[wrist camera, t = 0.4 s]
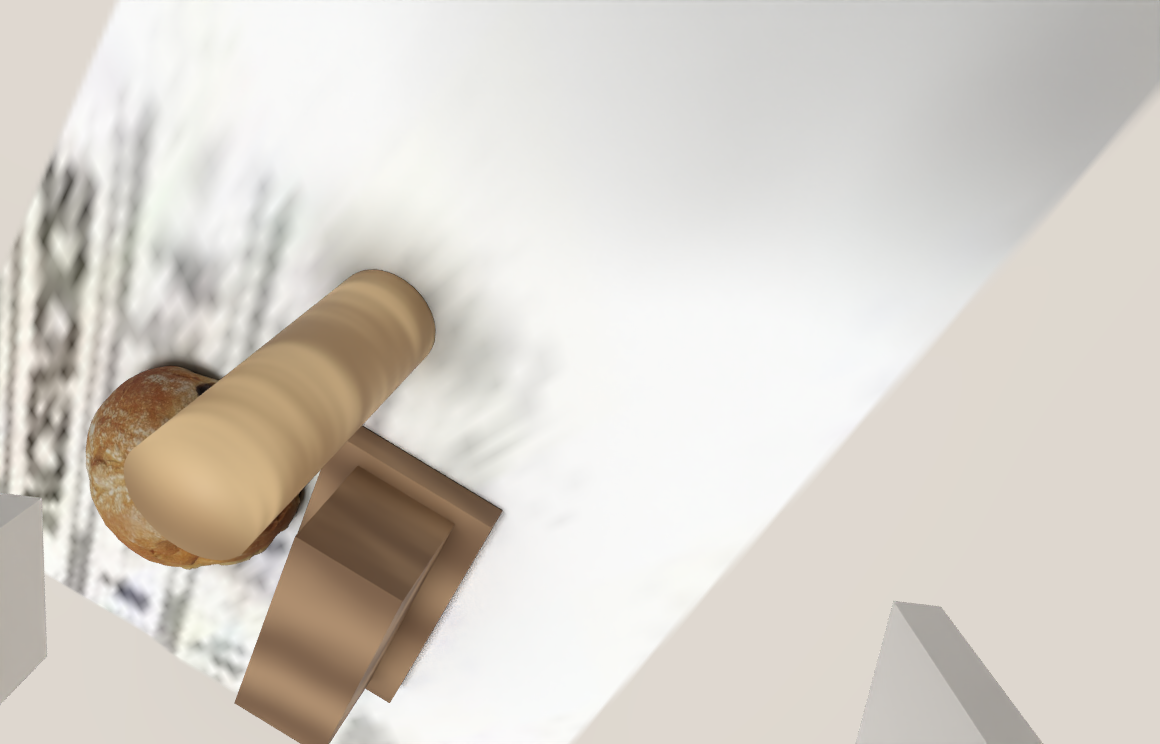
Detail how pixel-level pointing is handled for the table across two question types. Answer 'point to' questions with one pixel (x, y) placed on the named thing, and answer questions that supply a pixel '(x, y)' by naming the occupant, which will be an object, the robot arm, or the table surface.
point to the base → (361, 586)
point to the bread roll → (126, 426)
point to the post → (278, 416)
